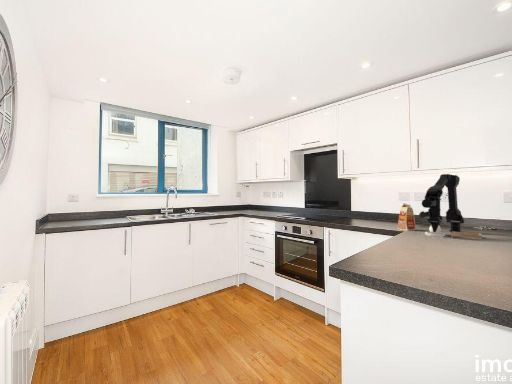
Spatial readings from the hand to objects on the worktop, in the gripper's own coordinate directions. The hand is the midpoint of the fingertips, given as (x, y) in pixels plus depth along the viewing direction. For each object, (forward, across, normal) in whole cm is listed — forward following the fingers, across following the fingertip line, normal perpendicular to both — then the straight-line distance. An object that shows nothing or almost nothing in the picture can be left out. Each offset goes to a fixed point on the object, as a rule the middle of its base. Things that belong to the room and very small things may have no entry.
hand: (435, 231), depth 157 cm
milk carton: (+2, -17, -19) cm, 26 cm away
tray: (+2, -4, +15) cm, 16 cm away
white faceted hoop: (+2, 0, 0) cm, 2 cm away
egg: (+2, 0, 0) cm, 2 cm away
